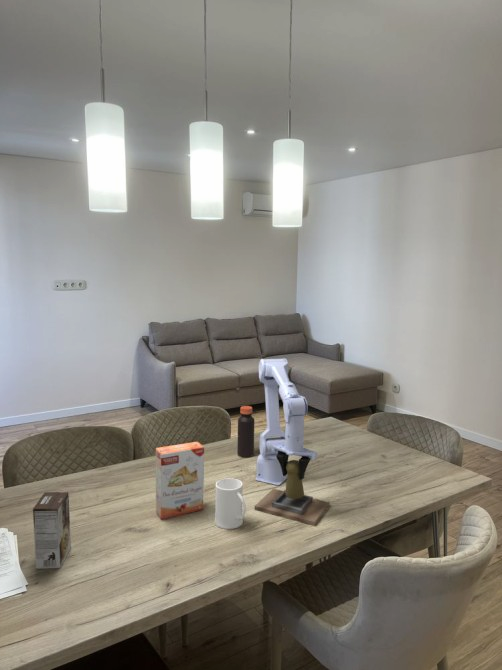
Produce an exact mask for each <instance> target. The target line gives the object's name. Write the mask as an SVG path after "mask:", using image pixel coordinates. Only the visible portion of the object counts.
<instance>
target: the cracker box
mask: <svg viewBox="0 0 502 670" xmlns="http://www.w3.org/2000/svg"><path fill="white" fill-rule="evenodd" d="M204 482H205V447H204V446H203V444H201V443H200V442H199V441H193V442H187V443H180V444H174V445H173V444H172V445H167V446H160V447H156V448H155V511H156V514H158V517H159V518H160V519H161V520H163V519H169V518H172V517H177V516H181V515H184V514H190V513H194V512H198V511H203V510H204V494H205V493H204V489H205V488H204V485H205V483H204Z"/></svg>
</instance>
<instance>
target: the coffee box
mask: <svg viewBox="0 0 502 670" xmlns="http://www.w3.org/2000/svg"><path fill="white" fill-rule="evenodd" d="M69 495H70V494H69V491H65V492H64V491H63V492H62V491H46V492H44V493H43V494H42V495H41V497H40V498H39V500H38V501H37V502H36V504H35V505H34V507H33V508H32V515H33V518H32V519H33V534H34V535H33V539H34V555H35V557H34V559H35V569H38V570H39V569H41V570H42V569H43V570H44V569H60V568H61V569H62V566H63V564H64V562H65V560H66V559H67V556H68V554H69V552H70V550H71V548H72V546H71V542H72V541H71V519H70V518H71V517H70V516H71V515H70V499H69Z"/></svg>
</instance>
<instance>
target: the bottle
mask: <svg viewBox="0 0 502 670" xmlns="http://www.w3.org/2000/svg"><path fill="white" fill-rule="evenodd" d="M239 409H240V410H239V411H240V416H239V417H238V419H237V456H239V457H240V456H241V457H240V458H251V457H253V456H254V455H255V418H254V417H253V416H252V415H253V407H252V406H250V405H242V406H241V407H240V408H239Z"/></svg>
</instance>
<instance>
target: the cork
mask: <svg viewBox="0 0 502 670" xmlns="http://www.w3.org/2000/svg"><path fill="white" fill-rule="evenodd" d="M286 470H287V475H286V476H287V479H286V483H285V484H286V485H285V490H286V492H285V495H286V496H287V497H288V498H291V499H299V498H301V497H303V496H304V495H305V491H304V485H303V479H302V480H300V479H299V474H300V467H299V460H298V459H297V460H296V459H291V460H288V462H287V464H286Z"/></svg>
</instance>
